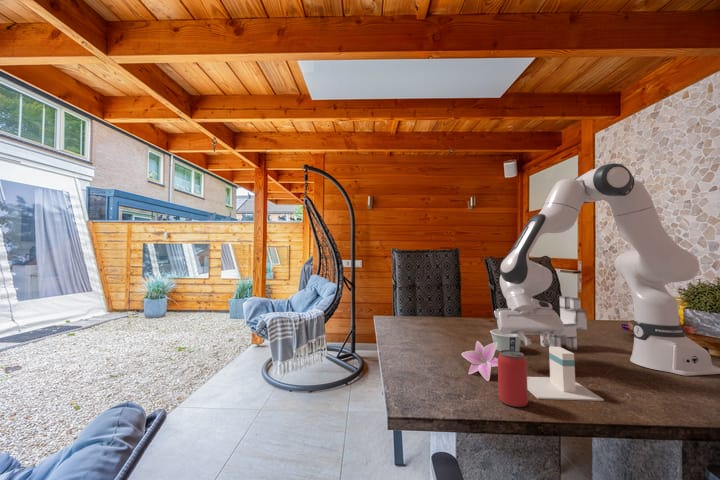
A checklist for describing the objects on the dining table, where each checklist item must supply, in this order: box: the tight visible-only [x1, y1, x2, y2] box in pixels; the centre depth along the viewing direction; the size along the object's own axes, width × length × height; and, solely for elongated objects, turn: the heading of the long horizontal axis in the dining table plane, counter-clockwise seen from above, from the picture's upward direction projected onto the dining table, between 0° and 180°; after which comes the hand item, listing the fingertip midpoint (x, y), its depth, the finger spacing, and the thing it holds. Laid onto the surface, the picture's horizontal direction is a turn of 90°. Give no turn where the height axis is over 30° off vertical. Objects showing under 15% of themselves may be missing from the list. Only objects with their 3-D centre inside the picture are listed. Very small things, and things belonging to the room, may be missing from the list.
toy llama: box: [539, 295, 588, 351], centre depth 124 cm, size 8×18×20 cm, turn 101°
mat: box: [527, 376, 605, 402], centre depth 84 cm, size 16×14×1 cm
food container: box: [489, 328, 523, 352], centre depth 121 cm, size 12×12×6 cm
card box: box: [548, 346, 576, 392], centre depth 85 cm, size 3×6×10 cm, turn 176°
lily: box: [460, 340, 498, 382], centre depth 95 cm, size 12×12×10 cm
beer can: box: [497, 350, 529, 408], centre depth 77 cm, size 7×7×12 cm
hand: (538, 345), depth 97 cm, fingers open, 4 cm apart
